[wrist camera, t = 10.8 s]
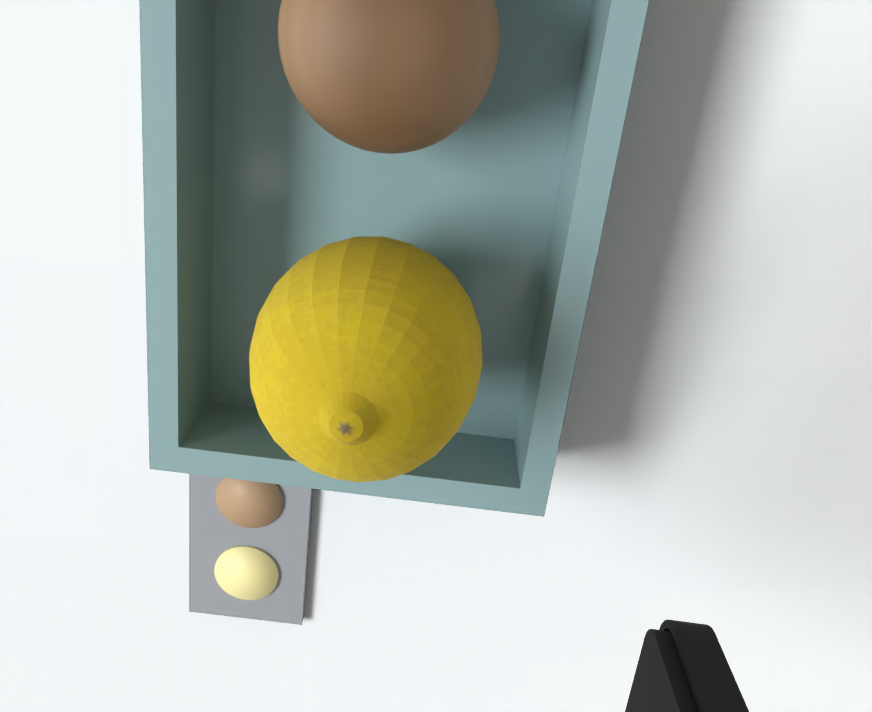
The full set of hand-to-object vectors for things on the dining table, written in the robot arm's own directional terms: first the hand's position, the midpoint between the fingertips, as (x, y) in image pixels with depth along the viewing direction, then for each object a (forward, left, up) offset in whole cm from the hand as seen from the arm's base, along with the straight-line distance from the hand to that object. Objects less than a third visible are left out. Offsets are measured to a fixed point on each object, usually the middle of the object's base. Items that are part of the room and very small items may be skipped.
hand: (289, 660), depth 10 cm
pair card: (+4, +8, -14) cm, 17 cm away
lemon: (0, -1, -14) cm, 14 cm away
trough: (0, -4, -14) cm, 15 cm away
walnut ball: (0, -8, -14) cm, 16 cm away
